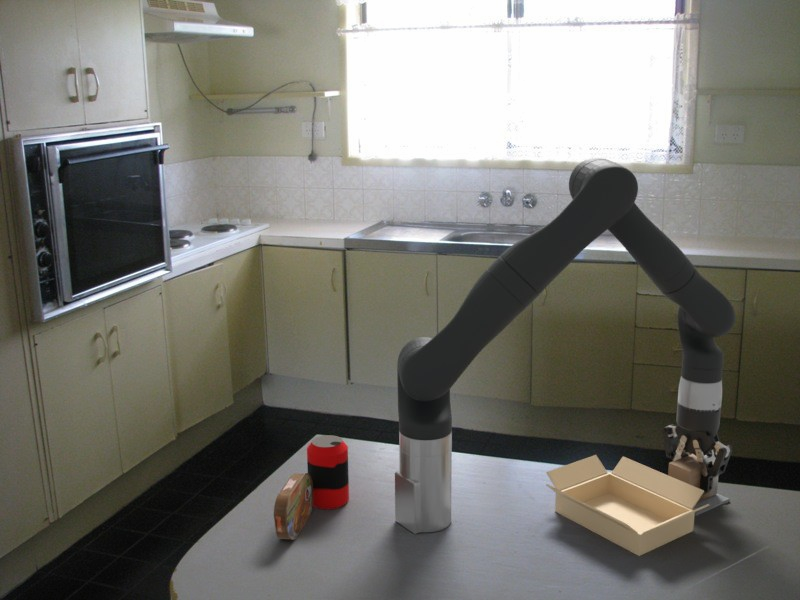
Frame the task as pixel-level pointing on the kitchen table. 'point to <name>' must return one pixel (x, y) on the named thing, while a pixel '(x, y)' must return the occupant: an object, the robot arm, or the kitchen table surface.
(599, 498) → the carton
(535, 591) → the kitchen table surface
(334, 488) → the soda can
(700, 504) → the mat
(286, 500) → the tin
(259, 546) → the kitchen table surface
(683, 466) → the tan rectangular block
